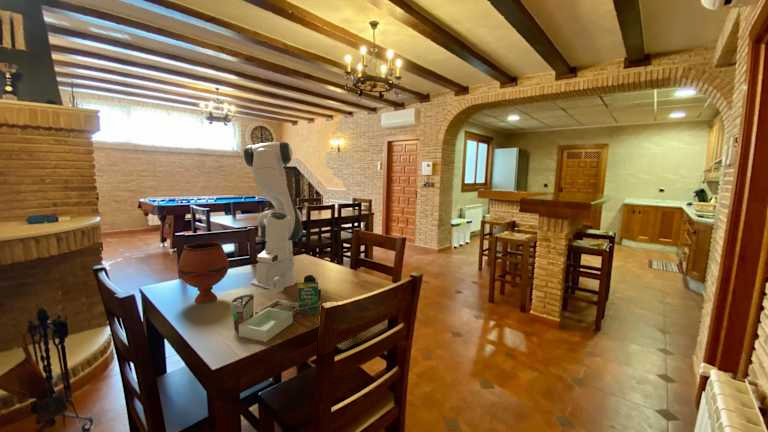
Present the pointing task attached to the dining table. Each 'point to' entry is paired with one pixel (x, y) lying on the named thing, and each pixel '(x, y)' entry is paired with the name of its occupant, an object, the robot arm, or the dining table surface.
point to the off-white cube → (278, 285)
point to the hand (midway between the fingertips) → (276, 285)
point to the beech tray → (278, 303)
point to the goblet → (203, 268)
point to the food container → (242, 309)
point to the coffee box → (308, 298)
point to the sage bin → (265, 324)
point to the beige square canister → (313, 279)
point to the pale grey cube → (286, 307)
